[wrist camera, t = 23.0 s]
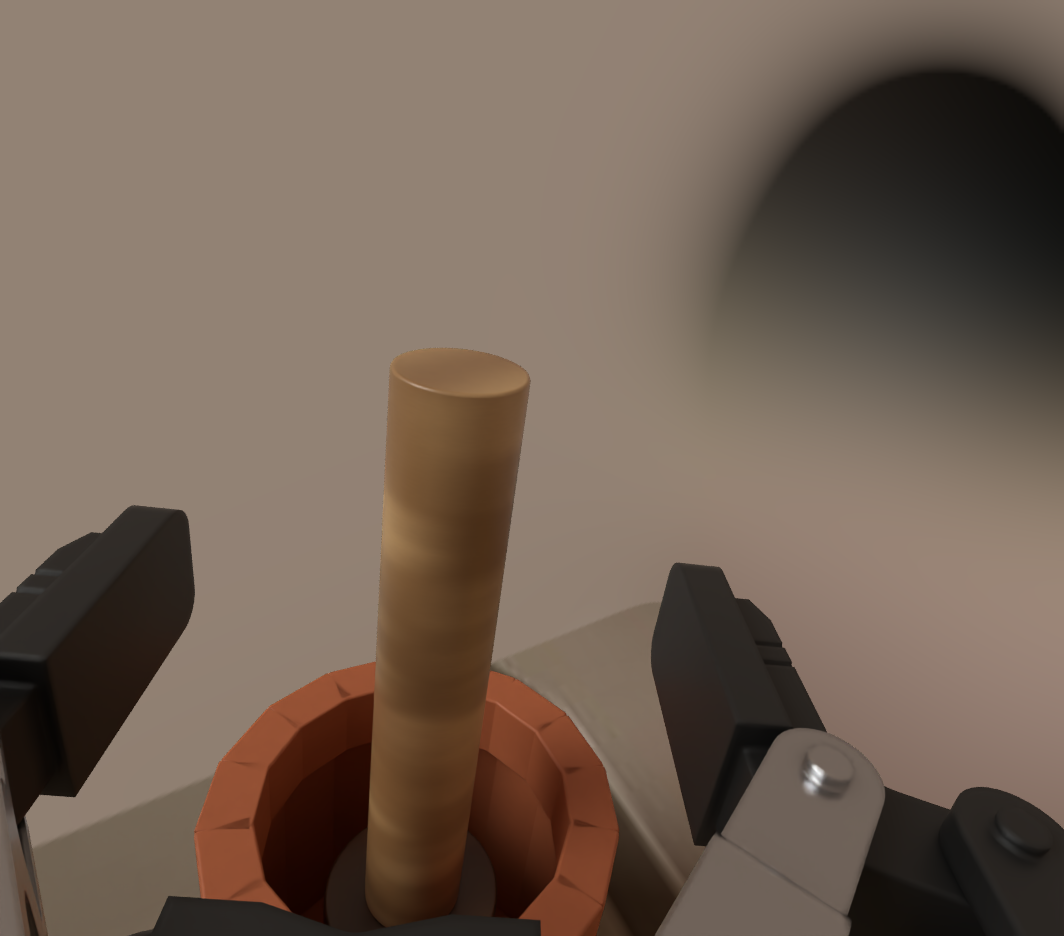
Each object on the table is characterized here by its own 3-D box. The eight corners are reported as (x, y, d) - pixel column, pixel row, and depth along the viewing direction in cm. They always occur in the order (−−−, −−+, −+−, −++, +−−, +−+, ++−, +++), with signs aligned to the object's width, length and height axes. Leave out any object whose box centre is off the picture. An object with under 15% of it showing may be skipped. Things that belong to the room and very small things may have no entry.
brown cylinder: (288, 1042, 20) (267, 361, 11) (390, 911, 24) (433, 318, 15) (413, 1150, 18) (505, 447, 10) (502, 991, 22) (627, 375, 13)
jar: (157, 1034, 20) (113, 793, 16) (409, 822, 27) (427, 615, 23) (375, 1384, 15) (400, 1171, 11) (615, 1014, 22) (688, 796, 18)
